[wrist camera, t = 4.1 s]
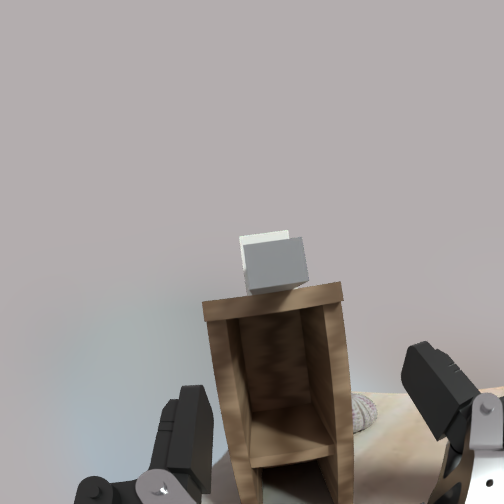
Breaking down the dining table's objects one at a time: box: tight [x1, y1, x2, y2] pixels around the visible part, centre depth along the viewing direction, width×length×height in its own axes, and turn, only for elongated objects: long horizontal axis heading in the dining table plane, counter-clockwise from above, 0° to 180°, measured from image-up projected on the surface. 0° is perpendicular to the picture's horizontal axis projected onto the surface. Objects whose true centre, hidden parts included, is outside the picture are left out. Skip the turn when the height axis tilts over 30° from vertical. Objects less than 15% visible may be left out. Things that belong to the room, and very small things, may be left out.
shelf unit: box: [202, 282, 354, 504], centre depth 34 cm, size 14×21×32 cm
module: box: [239, 230, 309, 296], centre depth 29 cm, size 5×21×6 cm, turn 179°
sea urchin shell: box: [351, 393, 377, 433], centre depth 51 cm, size 13×14×8 cm
